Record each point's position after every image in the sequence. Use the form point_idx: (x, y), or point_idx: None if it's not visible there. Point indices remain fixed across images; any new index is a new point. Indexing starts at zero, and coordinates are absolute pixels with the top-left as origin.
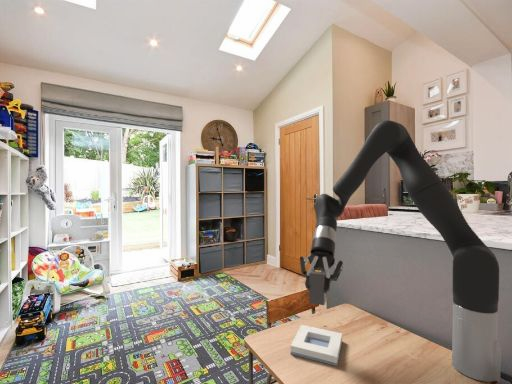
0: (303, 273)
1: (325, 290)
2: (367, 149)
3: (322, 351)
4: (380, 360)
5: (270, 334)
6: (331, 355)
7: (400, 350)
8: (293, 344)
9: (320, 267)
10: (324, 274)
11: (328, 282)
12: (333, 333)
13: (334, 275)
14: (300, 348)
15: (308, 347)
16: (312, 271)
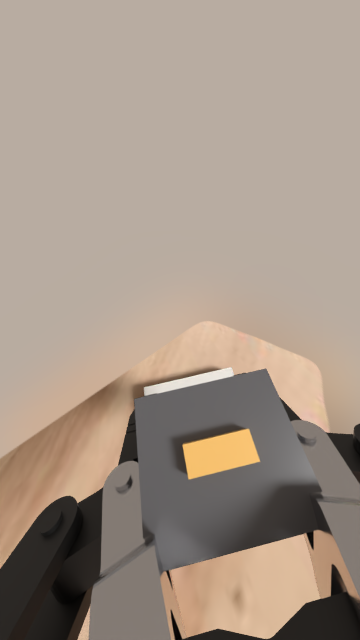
0: (356, 432)
1: (148, 395)
2: None
3: (172, 387)
4: (73, 471)
5: (311, 413)
6: (154, 385)
7: None
8: (229, 373)
9: (250, 636)
10: (136, 411)
11: (130, 444)
12: None
13: (52, 511)
14: (212, 372)
15: (200, 382)
16: (276, 434)
